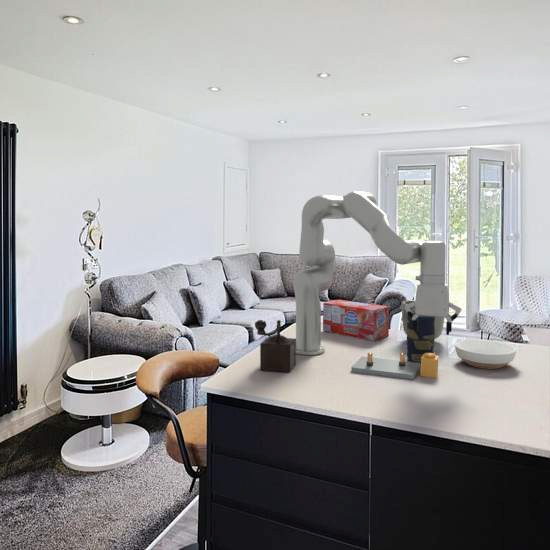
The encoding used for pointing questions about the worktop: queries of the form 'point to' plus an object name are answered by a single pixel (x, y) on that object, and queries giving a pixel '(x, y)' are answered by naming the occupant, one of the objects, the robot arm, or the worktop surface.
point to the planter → (438, 320)
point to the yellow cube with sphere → (429, 365)
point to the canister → (420, 337)
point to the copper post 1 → (369, 360)
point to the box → (356, 319)
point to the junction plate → (386, 368)
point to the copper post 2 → (402, 359)
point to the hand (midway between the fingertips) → (431, 332)
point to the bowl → (485, 353)
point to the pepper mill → (276, 350)
